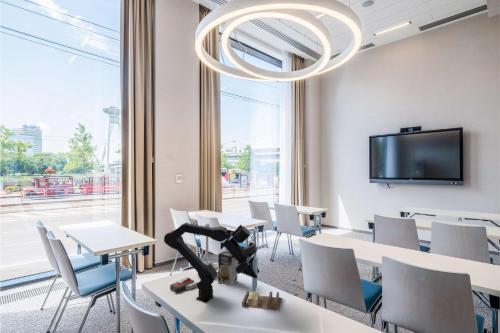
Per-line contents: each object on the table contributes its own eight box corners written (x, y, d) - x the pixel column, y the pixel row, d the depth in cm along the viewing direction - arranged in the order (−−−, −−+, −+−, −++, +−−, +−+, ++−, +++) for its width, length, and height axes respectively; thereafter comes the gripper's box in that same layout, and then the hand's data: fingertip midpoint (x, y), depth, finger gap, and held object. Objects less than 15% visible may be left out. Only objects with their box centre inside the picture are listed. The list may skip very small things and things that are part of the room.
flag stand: (207, 280, 153) (208, 226, 153) (191, 275, 160) (191, 224, 160) (222, 272, 164) (222, 222, 164) (206, 268, 171) (206, 220, 171)
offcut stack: (245, 304, 124) (245, 299, 124) (249, 296, 132) (249, 291, 132) (256, 305, 123) (256, 300, 123) (259, 297, 131) (259, 292, 131)
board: (252, 291, 125) (252, 261, 125) (254, 286, 131) (254, 257, 131) (255, 292, 124) (255, 261, 124) (257, 286, 130) (257, 257, 130)
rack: (241, 308, 122) (242, 301, 122) (247, 296, 134) (247, 289, 134) (280, 312, 119) (280, 304, 119) (281, 299, 131) (281, 292, 131)
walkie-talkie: (177, 295, 135) (207, 282, 151) (177, 286, 135) (208, 274, 151) (167, 290, 140) (197, 278, 156) (167, 282, 140) (197, 270, 156)
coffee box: (217, 283, 149) (217, 253, 149) (224, 279, 154) (224, 250, 155) (231, 287, 144) (231, 256, 144) (238, 282, 150) (238, 253, 150)
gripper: (243, 243, 119) (268, 271, 117) (250, 233, 137) (272, 257, 135) (225, 260, 120) (249, 287, 118) (235, 248, 139) (256, 271, 137)
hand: (257, 274), depth 127 cm, fingers closed on board, 6 cm apart
